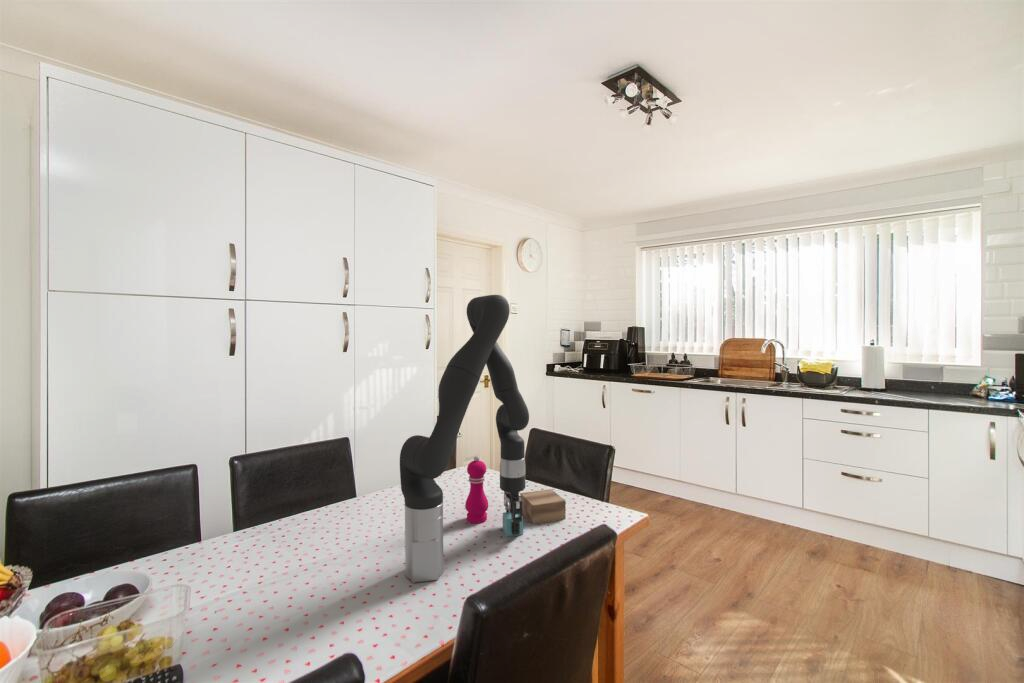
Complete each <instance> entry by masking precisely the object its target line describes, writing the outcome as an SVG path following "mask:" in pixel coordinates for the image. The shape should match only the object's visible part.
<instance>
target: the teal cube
mask: <svg viewBox="0 0 1024 683" xmlns="http://www.w3.org/2000/svg"><path fill="white" fill-rule="evenodd" d="M515 517H518V515H517V514H516V515H515ZM502 530H504V531H503V532H504V535H505V537H512V536H514V537H515V536H523V535H524V517H523V516H522V522H520V533H519V534H516V535H513V534H512V521H511V514H510V513H509V512H506V511H505V512H502Z"/></svg>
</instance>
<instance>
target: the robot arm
mask: <svg viewBox="0 0 1024 683" xmlns="http://www.w3.org/2000/svg"><path fill="white" fill-rule="evenodd" d="M510 313H511V312H510V304H509V301H508V299H507V298H506V297H505V296H504V295H500V294H488V295H481V296H477V297H473V298H472V299H470V300H469V301H468V304H467V306H466V317H467V321H468V324H469V326H470V329H471V331H472V332H473V334H472V335H471V337H470V338H469V339H468V340H467V341H466V342H465V344H463V345H462V346H461V347H460V349H458V350H457V351H456V353H454V355H453V356H452V357H451V359H450V360H449V361H448V363H447V365H446V367H445V370H444V372H443V374H442V377H441V378H440V380H439V385H438V389H437V390H438V392H437V394H438V414H437V419H436V423H435V425H434V428H433V430H432V431H431V434H430V436H425V435H419V434H417V435H416V434H415V435H413V436H412V435H411V436H410V437H409V438H407V439H406V440H405V441H404V443H403V444H402V446H401V450H400V452H399V476H400V489H401V490H400V491H401V493H402V495H403V498H404V560H405V562H404V563H405V564H404V566H405V576H406V577H407V579H409V580H411V583H413V584H415V583H423V582H429V581H430V582H431V581H438V580H439V577H440V576H441V575H442V574H443V573H444V492H443V490H442V487H441V486H440V485H438V484H437V482H436V481H435V479H436V478H438V477H440V476H442V474H443V473H444V472H445V471H446V469H447V468H448V465H449V463H450V460H451V458H452V454H453V452H454V448H455V444H456V443H457V438H458V435H459V431H460V429H461V427H462V426H461V425H462V423H463V420H464V419H465V415H466V414H467V410H468V408H469V405H470V402H471V400H472V398H473V396H474V393H475V391H476V389H477V387H478V384H479V383H480V382H479V381H480V379H481V376H482V375H483V371H484V369H485V367H486V368H487V370H488V371H487V372H488V374H489V378H490V381H491V387H492V390H493V394H494V396H495V398H496V399H497V400H498V401H500V402H501V403H502V404H501V405H500V406H499V407H498V408H497V411H496V413H495V424H496V425H495V426H496V429H497V434H498V438H499V442H500V461H499V490H501V491H503V506H504V510H505V512H509V513H510V514H511V521H512V534H513V535H515V536H517V535H516V534H519V533H520V522H522V517H523V513H522V501H521V497H520V493H521V492H522V491H524V490H525V489H526V459H525V457H526V456H525V452H526V451H525V440H524V439H523V437H522V436H520V434H519V433H518V431H522V430H524V429H526V428H527V426H528V424H529V420H530V413H529V410H528V409H529V408H528V406H527V404H526V402H525V400H524V398H523V396H522V394H521V392H520V389H519V388H518V384H517V383H518V382H517V378H516V375H515V371H514V367H513V366H512V363H511V362H510V360H509V358H508V357H507V355H506V354H505V352H504V351H503V350H502V348H501V347H500V345H499V343H498V342H497V341H498V340H499V338H500V336H501V335H502V332H503V331H504V328H505V327H506V325H507V323H508V321H509V316H510ZM516 514H517V515H518V517H515V515H516Z"/></svg>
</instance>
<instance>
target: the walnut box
mask: <svg viewBox="0 0 1024 683" xmlns="http://www.w3.org/2000/svg"><path fill="white" fill-rule="evenodd" d="M519 496H520V497H521V501H522V512H523V513H524V514H523V513H522V514H523V515H524V516H525V517H526V518H527V519H528V521H529V522H531V524H532V525H535V523H536V524H540V523H547V522H548V523H549V522H555V521H561V520H562V521H563V520H566V510H567V509H566V506H567V505H566V504H567V502H566V500H565V499H564V498H562V496H560V495H559V494H558V493H556V492H555V491H554V490H553V489H552V488H551V489H542V490H533V491H526V492H519Z"/></svg>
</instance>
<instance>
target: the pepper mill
mask: <svg viewBox="0 0 1024 683" xmlns="http://www.w3.org/2000/svg"><path fill="white" fill-rule="evenodd" d="M466 472H467V474H468V482H469V484H470V486H469V487H470V490H469V493H468V496H467V497H466V500H465V506H464V508H465V510H466V512H467V513H466V521H467V522H469V523H470V524H482V523H484V522H487V520H488V514H487V513H488V512H487V510H488V509H489V500H488V498H487V495H486V493H485V491H484V482H485V480H486V479H485V478H486V476H485V474H486V473H487V465H486V464H485V462H483V461H482V460H480V457H479V455H475V456H474V457H473V460H472V461H471V462H469V463H468V465H467V467H466Z"/></svg>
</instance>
